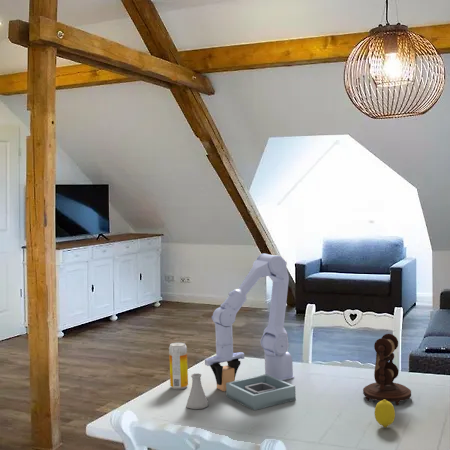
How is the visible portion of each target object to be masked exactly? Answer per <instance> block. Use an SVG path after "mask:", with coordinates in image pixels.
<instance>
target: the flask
mask: <svg viewBox="0 0 450 450" xmlns="http://www.w3.org/2000/svg"><path fill="white" fill-rule="evenodd" d="M190 376H191V379H192V380H191V381H192V382H191V389H190V392H189V395H188V399H187V402H186V406H185V407H186V408H188V409H191V410H203V409H204V408H207V407H209V401H208V399H207V396H206V393H205V391H204V389H203V386H202V381H201V379H202V378H201V377H202V374H201V373H197V372H196V373H192V374H191V375H190Z"/></svg>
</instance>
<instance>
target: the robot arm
mask: <svg viewBox="0 0 450 450" xmlns="http://www.w3.org/2000/svg"><path fill="white" fill-rule="evenodd" d="M265 277H269V279H270V280H271V281H272V287H271V297H270V307H269V314H268V315H269V317H268V324H267V326H266V327H265V328H264V329H263V334H262V335H261V338H260V346H261V348H262V349H263V352H264V374H268V375H270V376H272V377H275V378H277V379H280V380H282V381H286V380H291V379H294V378H295V376H294V371H293V367H294V365H293V364H294V363H293V357H292V355H291V353H290V352H289V351H288V350H289V347H290V344H289V343H290V342H289V340H288V336H289V335H288V332H287V330H286V328H285V319H286V318H285V317H286V310H287V309H286V308H287V301H288V300H287V299H288V292H289V281H290V276H289V273H288V270H287V261H286V260H285V259H284V258H283V257H282V256H281V255H275V254H274V255H273V254H268V253H266V252H265V253H261V254H258V256H257V258H256V259H255V260H254V261H253V262H252V267H251V268H250V270H249V272H248V273H247V275H246V276H245V277H244V279H243V280H242V283H240V285H239V286H238V288H235V289H232V291H231V290H230V291H229V292H228V296H227V297H226V299H225V300H224V301H223V302H222V303H221V304H220V306H219V307H217V308H216V309H214V311H213V313H212V315H211V320H212V321H213V323H214V327H215V331H214V332H215V351H216V352H215V354H216V355H214V356H211V357H209V358H204V365H205V366H207V367H210V369H211V371H212V373H213V375H214V378H215V381H216V385H217V384H218V385H222V369H223V366H224V365H221V364H222V363H227V366H230V367H232V368H234V373H235V377H236V376H237V373H238V370H239V368H240V366H241V360H244V359H245V352H242V351H240V352H239V351H238V352H234V339H233V338H234V337H233V335H234V334H233V324H234V323H235V322H236V316H237V314H238V312H239V311H240V309H241V308H242V306H244V304H245V302H247V294H248V293H249V292H250V291H251V290H252V289H253V287H254V286H255V285H256V284H257V282H259V280H260V279H261V278H265Z"/></svg>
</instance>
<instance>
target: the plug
mask: <svg viewBox="0 0 450 450" xmlns="http://www.w3.org/2000/svg"><path fill="white" fill-rule="evenodd" d="M222 366H223V369H222V385H218V384H217V383H216V389H218V390H220V391H222V392H226V383H228V382H233V381H236V376H235V373H234V368H232V367H230V366H228V365H222Z"/></svg>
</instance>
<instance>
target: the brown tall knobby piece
mask: <svg viewBox="0 0 450 450" xmlns="http://www.w3.org/2000/svg"><path fill="white" fill-rule="evenodd" d="M373 345H374V346H373V347H374V348H373V349H374V350H375V353H376V354H375V357H376V358H375V365H374V373H373V375H374V376H373V377H374V381H375V382H372V383H369V384H368V385H365V386H364V387H363V389H362V394H363V396H364V397H365V399H366V401H367V402H368V401H369V400H374V401H378V402H380V401H382V400H384V399H385V400H387V401H389V402H390V403H392V402H393V403H394V402H395V404H396V406H399V404H400V402H402V401H406V400H408V399H410V398H411V397H412V390H411V389H410V388H409V387H407V386H406V385H404V384H401V383H399V382H398V383H396V382H394V381H395V379H396V378H398V376H399V371H400V370H399V369H398V365H396V364H395V363H394V359H395V353H394V352H395V351H396V350H397V349H398V346H399V340H398V338H397V336H395V335H394V334H392V333H386V334H383V335H382V337H381V338H378V339H377V340H375V342H374V344H373Z"/></svg>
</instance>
